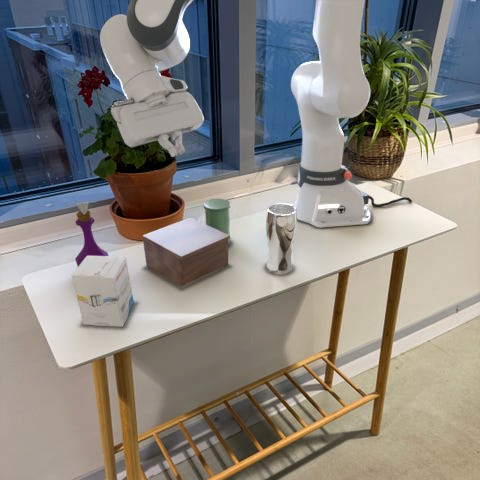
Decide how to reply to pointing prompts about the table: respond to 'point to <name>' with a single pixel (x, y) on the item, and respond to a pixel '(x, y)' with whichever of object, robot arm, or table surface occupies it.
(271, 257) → the beer glass
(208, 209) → the green cylinder canister
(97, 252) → the perfume bottle
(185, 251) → the lid
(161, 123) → the robot arm
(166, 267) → the box
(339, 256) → the table surface
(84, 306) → the ink box
